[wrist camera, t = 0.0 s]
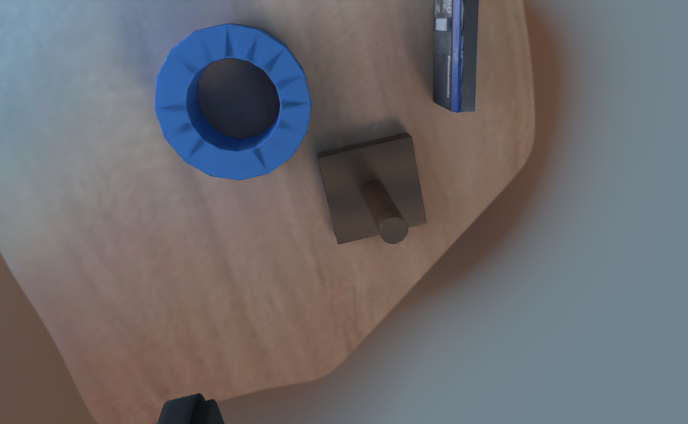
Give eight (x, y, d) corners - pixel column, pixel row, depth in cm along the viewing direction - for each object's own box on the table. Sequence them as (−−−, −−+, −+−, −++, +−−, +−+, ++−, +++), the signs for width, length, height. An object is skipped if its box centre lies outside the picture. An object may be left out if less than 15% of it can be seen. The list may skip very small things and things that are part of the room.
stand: (316, 153, 45) (325, 190, 35) (407, 132, 45) (441, 162, 35) (336, 238, 48) (349, 294, 38) (422, 217, 48) (457, 267, 38)
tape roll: (149, 42, 41) (132, 45, 36) (288, 10, 41) (289, 9, 36) (193, 176, 45) (183, 194, 40) (320, 146, 45) (324, 160, 40)
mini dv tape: (434, -4, 42) (457, -8, 36) (452, -5, 42) (478, -9, 36) (433, 101, 44) (454, 113, 39) (450, 100, 45) (474, 111, 39)
